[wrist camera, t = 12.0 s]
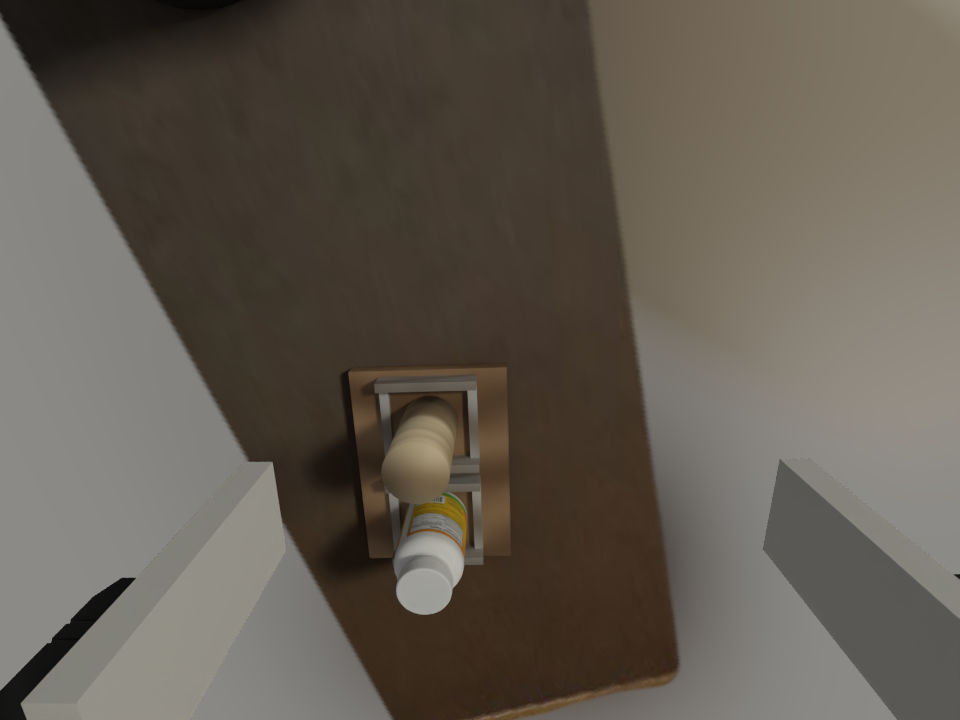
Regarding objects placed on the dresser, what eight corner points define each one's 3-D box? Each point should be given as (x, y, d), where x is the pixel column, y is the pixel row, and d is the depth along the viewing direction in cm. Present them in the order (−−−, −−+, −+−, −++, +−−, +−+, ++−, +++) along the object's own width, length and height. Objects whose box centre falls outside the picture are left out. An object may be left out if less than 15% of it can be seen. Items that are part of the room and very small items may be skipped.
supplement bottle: (440, 550, 46) (428, 636, 37) (395, 515, 45) (370, 594, 36) (480, 512, 45) (477, 590, 36) (433, 475, 44) (418, 546, 35)
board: (352, 367, 43) (342, 379, 40) (506, 363, 42) (507, 374, 39) (372, 549, 48) (365, 571, 45) (510, 547, 47) (511, 568, 44)
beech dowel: (401, 395, 42) (378, 443, 33) (456, 394, 42) (447, 441, 33) (405, 446, 43) (384, 504, 35) (459, 444, 43) (451, 503, 35)
